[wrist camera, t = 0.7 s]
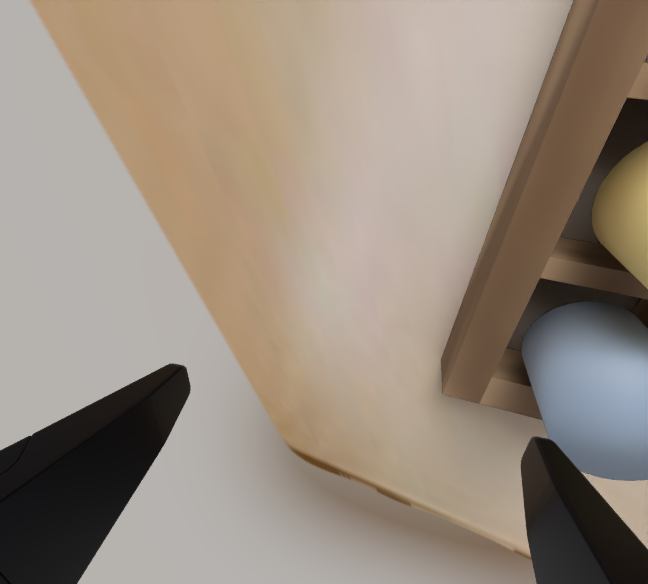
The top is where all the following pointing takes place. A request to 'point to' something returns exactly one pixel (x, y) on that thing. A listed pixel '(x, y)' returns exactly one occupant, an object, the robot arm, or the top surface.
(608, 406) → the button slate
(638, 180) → the button ochre
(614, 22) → the wooden compartment tray
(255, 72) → the top surface
